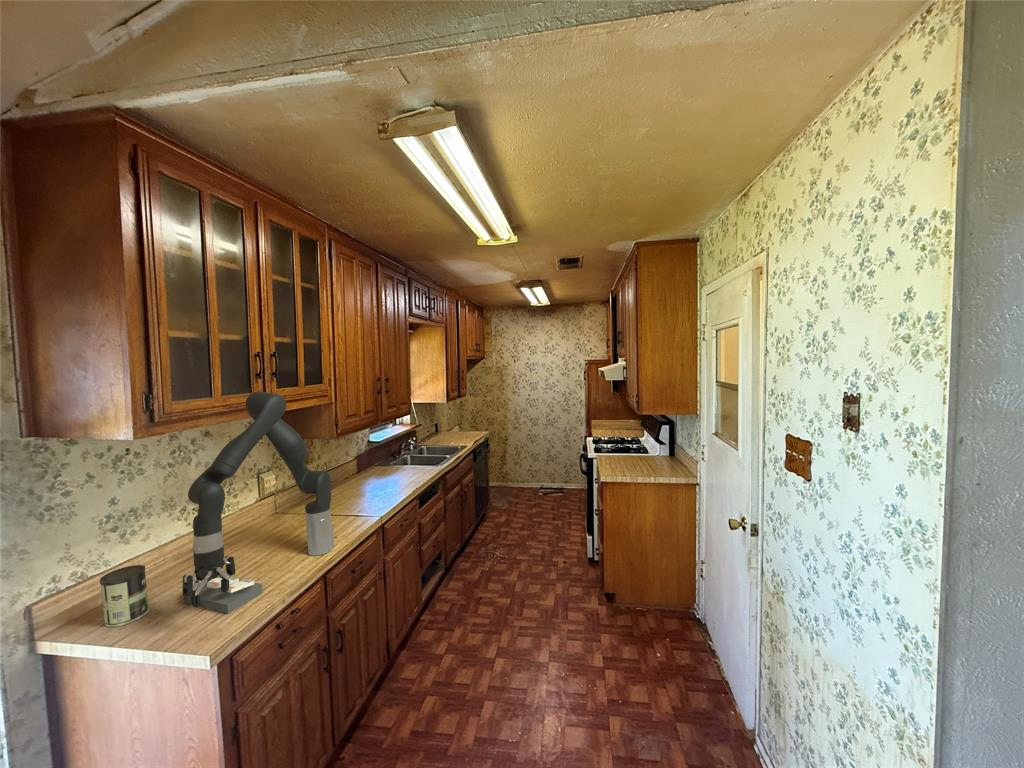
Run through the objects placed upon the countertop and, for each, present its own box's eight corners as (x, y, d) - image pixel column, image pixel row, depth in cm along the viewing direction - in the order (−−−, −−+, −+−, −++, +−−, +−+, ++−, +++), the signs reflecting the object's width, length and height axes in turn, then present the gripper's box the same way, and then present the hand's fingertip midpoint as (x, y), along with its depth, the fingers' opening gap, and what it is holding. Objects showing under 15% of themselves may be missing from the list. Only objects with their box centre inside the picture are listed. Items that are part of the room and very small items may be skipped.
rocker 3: (244, 583, 138) (244, 578, 138) (254, 585, 137) (255, 581, 137) (221, 591, 131) (221, 587, 131) (231, 593, 129) (232, 589, 129)
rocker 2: (229, 580, 141) (230, 576, 141) (239, 582, 139) (239, 578, 139) (205, 587, 133) (206, 582, 133) (215, 589, 132) (216, 585, 132)
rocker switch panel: (220, 583, 145) (219, 575, 145) (262, 592, 139) (262, 584, 139) (183, 603, 134) (183, 594, 134) (228, 614, 128) (227, 604, 127)
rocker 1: (214, 580, 143) (215, 576, 143) (223, 582, 141) (225, 577, 142) (191, 581, 136) (192, 577, 136) (201, 583, 134) (202, 579, 134)
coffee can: (146, 602, 135) (142, 561, 134) (151, 615, 128) (147, 571, 127) (102, 618, 127) (98, 574, 126) (105, 632, 120) (100, 586, 119)
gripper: (222, 536, 133) (225, 585, 133) (174, 555, 119) (177, 609, 120) (239, 538, 130) (241, 588, 131) (192, 558, 117) (195, 614, 117)
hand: (211, 598), depth 125 cm, fingers open, 8 cm apart
